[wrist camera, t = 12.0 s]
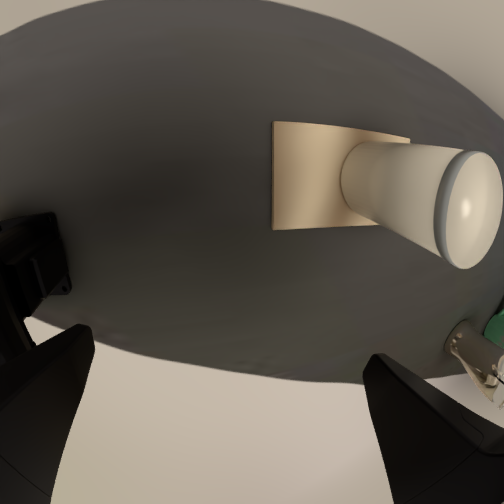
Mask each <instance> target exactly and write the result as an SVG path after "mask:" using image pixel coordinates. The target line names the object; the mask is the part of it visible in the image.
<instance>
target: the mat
mask: <svg viewBox="0 0 504 504" xmlns="http://www.w3.org/2000/svg"><path fill="white" fill-rule="evenodd" d="M368 141H382V142H398V143H410V139H408V138H404V137H399V136H394V135H389V134H384V133H378V132H373V131H366V130H360V129H353V128H346V127H338V126H330V125H320V124H310V123H297V122H280V121H273V122H272V229H273V230H285V229H302V228H321V227H341V226H362V225H379V224H377V223H375V222H373V221H371V220H369V219H367V218H365V217H363V216H361V215H359V214H357V213H356V212H354V211H353V210H352V209H351V208H350V207H349V205H348V204H347V202H346V200H345V198H344V195H343V192H342V187H341V174H342V169H343V165H344V162H345V160H346V158H347V156H348V155H349V153H350V152H351V151H352V150H353V149H354V148H355V147H356V146H358V145H359V144H361V143H364V142H368Z"/></svg>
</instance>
